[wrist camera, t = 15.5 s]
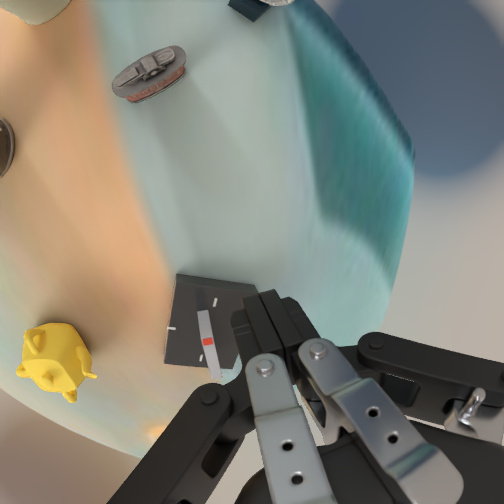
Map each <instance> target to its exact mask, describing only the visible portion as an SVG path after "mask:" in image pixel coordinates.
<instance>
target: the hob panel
mask: <svg viewBox="0 0 504 504" xmlns="http://www.w3.org/2000/svg"><path fill="white" fill-rule="evenodd" d="M253 294H258V292H257V289H256V287H255V285H251V284H244V283H236V282H229V281H222V280H215V279H208V278H201V277H195V276H188V275H182V274H176V277H175V283H174V289H173V295H172V301H171V307H170V313H169V320H168V327H166V329H167V333H166V341H165V348H164V364H172V365H182V366H193V367H206V368H209V367H208V364H207V360H206V356H205V353H204V349H203V345H202V341H201V336H200V329H199V321H198V314H197V312H198V311H203V310H208V312H209V317H210V322H211V326H212V331H213V336H214V340H215V345H216V349H217V354H218V359H219V364H220V368H222V369H233V366H234V363H235V361H236V358H237V355H238V349H237V345H236V341H235V338H234V334H233V330H232V326H231V322H230V319H231V315H232V312H233V311H237V310H241V309H243V305H242V300H241V298H242V297H246V296H249V295H253Z"/></svg>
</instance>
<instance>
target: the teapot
mask: <svg viewBox="0 0 504 504" xmlns="http://www.w3.org/2000/svg"><path fill="white" fill-rule="evenodd" d="M24 340H25V342H24V345H23V353H22V363H21V364H20V365H19V366H18V368H17V370H16V373H17V375H18V376H19V377H22V378H29V377H31V378H32V379H33V381H34V382H35V383H36V384H37V385H38V386H39V387H40V388H41V389H42V390H45V391H49V392H61V393H62V394H63V396H64V397H65V398H66V399H67V400H68V401H69V402H71V403H75V402H76V400H77V392H76V388H77V387H78V386H79V385H80V384H81V383H82V381H83V380H84V379H85V377H88V378H97V376H96V375H95V374H93V373H92V372H91V364H92V358H91V355H90V353H89V352H88V350H87V348H86V346H85V344H84V342H83V341H82V339H81V337H80V336H79V334H78V332H77V331H76V330H75V328H74V327H73V326H71V325H69V324H65V323H48V324H44V325H41V326H38V327H36V328H34V329H29V330H27V331H26V332H25V333H24ZM68 391H69V392H68Z"/></svg>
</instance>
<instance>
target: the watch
mask: <svg viewBox="0 0 504 504" xmlns="http://www.w3.org/2000/svg"><path fill="white" fill-rule="evenodd" d="M293 1H295V0H230V2H229V4H228V5H229V6H230V7H232V8H233V9H235V10H236V11H238V12H239V13H241V14H242V15H244V16H245V17H247V18H248V19H250V20H251V21H252V22H255V21H256V20H257V19H258V18H259V17H260V16H261V15H262V14H263V13H264V12H265V11H267V10H268V9H269V8H270V7H271V6H284V5H288V4H291V3H292V2H293Z"/></svg>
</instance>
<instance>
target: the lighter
mask: <svg viewBox="0 0 504 504" xmlns="http://www.w3.org/2000/svg"><path fill="white" fill-rule="evenodd" d="M185 61H186V54H185V51H184V50H183V49H182V48H181V47H179V46H169V47H166V48H163V49H160V50H157V51H155V52H152V53H150V54H148V55H146V56H144V57H142V58H140V59H139V60H137V61H136V62H134V63H133V64H131V65H130V66H128V67H127V68H126V69H124V70H123V71H122V72H121V73H120V74H119V75H117V76H116V77H115V79H114V80H113V83H112V89H113V92H114V93H115V94H116V95H117V96H119V97H122V98H126V99H127V100H128V101H129V102H131V103H138V102H141V101H143V100H146V99H149V98H151V97H153V96H155V95H157V94H159V93H161V92H163V91H164V90H166V89H167V88H169V87H170V86H172V85H173V84H175V83H176V82H177V81H179V80H180V79H181V78H182V77H183V76H184V75H185V66H184V64H185Z"/></svg>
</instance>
